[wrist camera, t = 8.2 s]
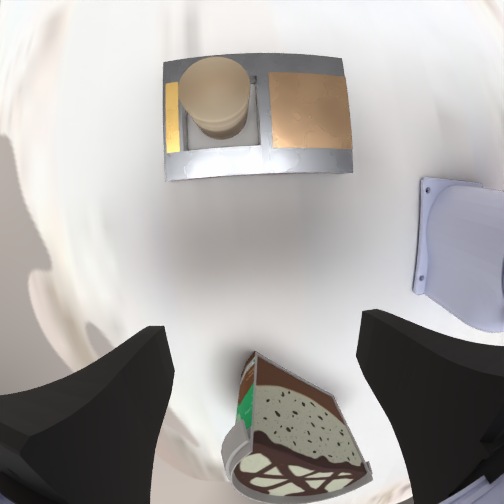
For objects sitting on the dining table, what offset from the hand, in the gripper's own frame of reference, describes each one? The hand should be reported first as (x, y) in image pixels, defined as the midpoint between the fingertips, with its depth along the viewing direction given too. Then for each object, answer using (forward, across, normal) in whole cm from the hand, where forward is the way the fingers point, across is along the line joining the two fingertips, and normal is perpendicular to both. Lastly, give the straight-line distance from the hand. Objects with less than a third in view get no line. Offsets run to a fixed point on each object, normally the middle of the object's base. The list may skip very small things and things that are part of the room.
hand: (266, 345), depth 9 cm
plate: (+10, -1, -10) cm, 14 cm away
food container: (+10, -1, +12) cm, 16 cm away
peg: (+10, +2, -10) cm, 14 cm away
